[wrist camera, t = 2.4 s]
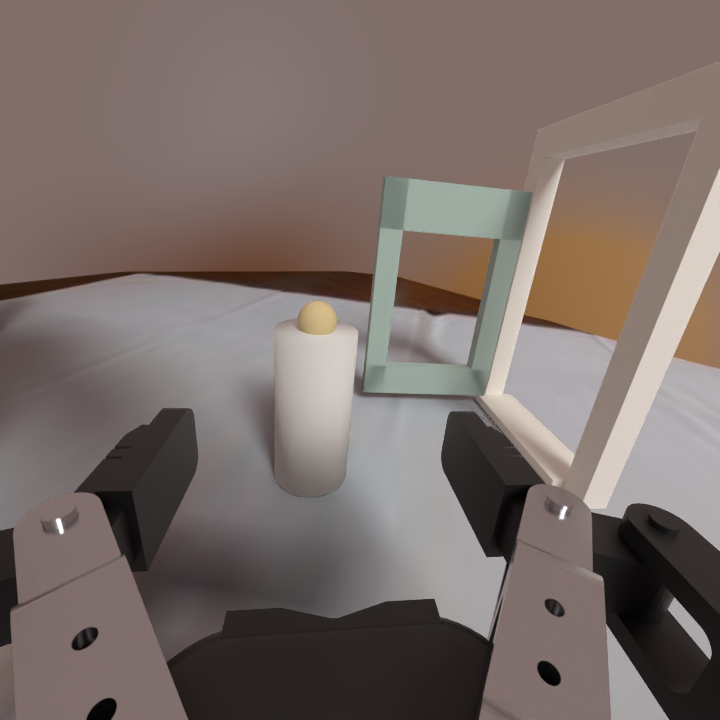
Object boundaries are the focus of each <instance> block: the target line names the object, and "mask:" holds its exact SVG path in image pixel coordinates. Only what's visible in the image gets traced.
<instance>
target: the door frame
mask: <svg viewBox="0 0 720 720" xmlns="http://www.w3.org/2000/svg"><path fill="white" fill-rule="evenodd" d="M694 131H697V132H696V135H695V138H694V140H693V143H692V146H691V148H690V151H689V153H688V156H687V159H686V161H685V164H684V167H683V169H682V172H681V175H680V178H679V180H678V183H677V185H676V188H675V191H674V193H673V196H672V199H671V202H670V204H669V207H668V209H667V212H666V215H665V217H664V220H663V223H662V225H661V228H660V231H659V233H658V236H657V239H656V241H655V244H654V246H653V249H652V252H651V254H650V257H649V260H648V262H647V265H646V268H645V270H644V273H643V276H642V278H641V281H640V284H639V286H638V289H637V292H636V294H635V297H634V300H633V303H632V305H631V308H630V310H629V313H628V316H627V318H626V321H625V324H624V326H623V329H622V332H621V334H620V337H619V340H618V342H617V345H616V347H615V350H614V353H613V355H612V358H611V361H610V363H609V366H608V369H607V371H606V374H605V377H604V379H603V382H602V385H601V387H600V390H599V393H598V395H597V398H596V401H595V403H594V406H593V409H592V411H591V414H590V417H589V419H588V422H587V425H586V427H585V430H584V433H583V435H582V438H581V441H580V443H579V446H578V448H577V451H576V454H575V455H574V454H573V453H572V452H571V451H570V450H569V449H568V448H567V447H566V446H565V445H564V444H563V443H562V442H560V441H559V440H558V439H557V438H556V437H555V436H554V435H553V434H552V433H551V432H550V431H549V430H548V429H547V428H546V427H545V426H544V425H543V424H541V423H540V422H539V421H538V420H537V419H536V418H535V417H534V416H533V415H532V414H531V413H530V412H529V411H528V410H527V409H526V408H525V407H524V406H522V405H521V404H520V403H519V402H518V401H517V400H516V399H515V398H514V397H513V396H512V395H511V394H503V390H504V386H505V383H506V379H507V375H508V371H509V367H510V364H511V360H512V356H513V352H514V349H515V345H516V341H517V337H518V333H519V330H520V326H521V322H522V318H523V315H524V311H525V307H526V303H527V299H528V296H529V292H530V288H531V284H532V281H533V277H534V273H535V269H536V266H537V262H538V258H539V254H540V250H541V246H542V243H543V239H544V235H545V232H546V228H547V224H548V220H549V216H550V213H551V209H552V205H553V201H554V198H555V194H556V190H557V186H558V182H559V179H560V175H561V171H562V167H563V164H564V160H565V159H568V158H572V157H577V156H582V155H586V154H591V153H595V152H600V151H605V150H610V149H614V148H619V147H623V146H628V145H633V144H637V143H642V142H647V141H651V140H656V139H660V138H665V137H670V136H675V135H680V134H684V133H689V132H694ZM524 192H533V195H532V199H531V203H530V207H529V211H528V216H527V220H526V224H525V228H524V232H523V236H522V240H521V244H520V248H519V252H518V257H517V261H516V265H515V269H514V273H513V277H512V281H511V285H510V289H509V294H508V298H507V302H506V306H505V310H504V314H503V318H502V322H501V326H500V331H499V335H498V339H497V343H496V347H495V351H494V355H493V359H492V363H491V367H490V372H489V376H488V380H487V384H486V388H485V392H484V396H476V401H477V402H478V403H479V405H480V406H481V407H482V408H483V409H484V411H485V412H486V413H487V414H488V415H489V417H490V418H491V419H492V420H493V421H494V422H495V424H496V425H497V426H498V427H499V428H500V430H501V431H502V432H503V433H504V434H505V436H506V437H507V438H508V439H509V440H510V442H511V443H512V444H513V445H514V446H515V448H516V449H517V450H518V451H519V452H520V453H521V455H522V456H523V457H524V458H525V459H526V461H527V462H528V463H529V464H530V465H531V467H532V468H533V469H534V470H535V471H536V473H537V474H538V475H539V476H540V477H541V479H542V480H543V481H544V482H545V483H546V484H549V485H554V486H557V487H560V488H563V489H565V490H567V491H569V492H571V493H573V494H574V495H576V496H577V497H579V498H580V499H581V500H582V501H583V502H584V503H585V504H586V505H587V506H588V508H589V509H605V508H606V506H607V504H608V501H609V499H610V497H611V495H612V492H613V490H614V488H615V486H616V483H617V481H618V479H619V477H620V474H621V472H622V470H623V468H624V465H625V463H626V461H627V459H628V456H629V454H630V452H631V450H632V447H633V445H634V443H635V441H636V438H637V436H638V434H639V432H640V429H641V427H642V425H643V423H644V420H645V418H646V416H647V414H648V411H649V409H650V407H651V405H652V402H653V400H654V398H655V396H656V393H657V391H658V389H659V387H660V384H661V382H662V380H663V378H664V375H665V373H666V371H667V369H668V366H669V364H670V362H671V360H672V357H673V355H674V353H675V350H676V348H677V346H678V343H679V341H680V339H681V337H682V335H683V333H684V330H685V328H686V326H687V324H688V321H689V319H690V316H691V315H692V312H693V310H694V307H695V305H696V303H697V301H698V299H699V296H700V294H701V292H702V290H703V287H704V285H705V283H706V281H707V278H708V276H709V274H710V272H711V269H712V267H713V265H714V263H715V260H716V258H717V256H718V254H719V251H720V61H719V62H716V63H713V64H711V65H708V66H705V67H703V68H700V69H697V70H695V71H692V72H690V73H687V74H684V75H682V76H679V77H676V78H674V79H671V80H668V81H665V82H663V83H660V84H658V85H655V86H652V87H650V88H647V89H644V90H641V91H639V92H636V93H634V94H631V95H628V96H625V97H623V98H620V99H617V100H615V101H612V102H609V103H607V104H604V105H602V106H599V107H596V108H594V109H591V110H588V111H586V112H583V113H580V114H578V115H575V116H572V117H570V118H567V119H564V120H562V121H559V122H557V123H554V124H551V125H549V126H546V127H543V128H540V129H538V132H537V137H536V141H535V145H534V149H533V154H532V158H531V162H530V166H529V171H528V176H527V179H526V184H525V188H524Z"/></svg>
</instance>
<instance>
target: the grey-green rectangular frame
mask: <svg viewBox="0 0 720 720" xmlns="http://www.w3.org/2000/svg"><path fill="white" fill-rule="evenodd" d="M532 195H533V192H524V191H515V190H506V189H497V188H488V187H479V186H470V185H460V184H452V183H443V182H433V181H425V180H416V179H407V178H398V177H389V176H385V177H383V185H382V194H381V205H380V215H379V224H378V234H377V243H376V253H375V263H374V273H373V283H372V293H371V303H370V313H369V323H368V333H367V343H366V353H365V363H364V373H363V383H362V389H363V392H372V393H406V394H440V395H474V396H484V392H485V388H486V384H487V380H488V376H489V372H490V367H491V363H492V359H493V355H494V351H495V347H496V343H497V339H498V335H499V331H500V326H501V322H502V318H503V314H504V310H505V306H506V302H507V298H508V294H509V289H510V285H511V281H512V277H513V273H514V269H515V265H516V261H517V257H518V252H519V248H520V244H521V240H522V236H523V232H524V228H525V224H526V220H527V216H528V211H529V207H530V203H531V199H532ZM403 230H407V231H417V232H428V233H439V234H450V235H462V236H472V237H484V238H494V243H493V248H492V252H491V257H490V262H489V266H488V271H487V276H486V280H485V285H484V289H483V294H482V298H481V303H480V308H479V312H478V317H477V322H476V326H475V331H474V335H473V340H472V345H471V349H470V354H469V359H468V363H467V365H459V364H434V363H410V362H387V354H388V346H389V338H390V330H391V322H392V314H393V306H394V298H395V290H396V282H397V274H398V266H399V257H400V250H401V242H402V234H403Z"/></svg>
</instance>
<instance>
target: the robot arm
mask: <svg viewBox="0 0 720 720" xmlns="http://www.w3.org/2000/svg"><path fill="white" fill-rule="evenodd" d="M441 461H442V467H443V470H444V473H445V475H446V477H447V479H448V481H449V483H450V485H451V487H452V489H453V491H454V493H455V495H456V497H457V499H458V501H459V503H460V505H461V507H462V509H463V511H464V513H465V515H466V517H467V519H468V521H469V523H470V525H471V527H472V529H473V531H474V533H475V535H476V537H477V539H478V541H479V543H480V545H481V547H482V549H483V551H484V553H485V555H486V557H501V556H503V557H504V558H505V560H506V562H507V563H506V567H505V570H504V574H503V578H502V582H501V586H500V590H499V594H498V598H497V602H496V606H495V610H494V614H493V618H492V622H491V626H490V630H489V634H488V638H487V639H486V638H485V637H483V636H482V635H480V634H479V633H477V632H475V631H474V630H472V629H470V628H468V627H466V626H464V625H462V624H460V623H458V622H455V621H452V620H449V619H446V618H441V617H440V616H439V613H438V609H437V606H436V603H435V600H434V599H422V600H405V601H388V602H384V603H381V604H378V605H375V606H372V607H369V608H366V609H363V610H360V611H357V612H355V613H352V614H349V615H346V616H343V617H340V618H326V617H322V616H317V615H312V614H307V613H303V612H298V611H293V610H288V609H283V608H271V609H254V610H237V611H227V613H226V617H225V621H224V625H223V630H222V631H221V632H218V633H215V634H212V635H210V636H208V637H206V638H204V639H202V640H199V641H198V642H196V643H194V644H193V645H191V646H189V647H187V648H186V649H184V650H183V651H181V652H180V653H179V654H177V655H176V656H174V657H173V658H172V659H170V660H169V661H168V662H167V663H166V661H165V658H164V656H163V653H162V650H161V648H160V645H159V643H158V640H157V637H156V635H155V632H154V629H153V627H152V624H151V622H150V619H149V616H148V614H147V611H146V609H145V606H144V603H143V601H142V598H141V596H140V593H139V590H138V588H137V585H136V582H135V580H134V577H133V575H132V572H137V571H148V569H149V567H150V565H151V563H152V561H153V559H154V557H155V554H156V552H157V550H158V548H159V546H160V544H161V542H162V540H163V538H164V536H165V534H166V532H167V530H168V528H169V526H170V523H171V521H172V519H173V517H174V515H175V513H176V511H177V509H178V507H179V505H180V503H181V501H182V499H183V497H184V495H185V493H186V490H187V488H188V486H189V484H190V482H191V480H192V478H193V476H194V474H195V471H196V467H197V462H198V449H197V440H196V431H195V421H194V414H193V411H192V409H190V408H163V409H162V410H161V411H160V412H159V413H158V415H157V416H156V417H155V418H154V419H153V421H152V422H151V423H150V424H149V425H141V426H139V427H138V428H136V429H134V430H133V431H131V432H129V433H128V434H126V435H125V436H124V437H123V438H122V439H121V440H120V441H119V443H118V444H117V445H116V446H115V449H112V450H111V452H110V453H109V454H108V455H107V456H106V459H103V460H102V462H101V463H100V464H99V465H98V466H97V467H96V468H95V469H94V471H93V472H92V473H91V474H90V475H89V476H88V477H87V478H86V480H85V481H84V482H83V483H82V484H81V485H80V486H79V487H78V489H77V490H76V491H75V492H74V493H70V494H66V495H62V496H59V497H55V498H53V499H50V500H48V501H46V502H44V503H42V504H40V505H38V506H36V507H35V508H33V509H32V510H30V511H29V512H28V513H26V514H25V515H24V516H23V517H22V518H21V519H20V520H19V521H18V523H17V524H16V526H15V527H14V528H11V529H6V530H2V531H0V647H1V646H4V645H7V644H10V643H12V657H13V676H14V694H15V712H16V720H611V711H610V691H609V672H608V652H607V633H606V624H607V626H608V627H609V629H610V630H611V632H612V633H613V635H614V636H615V638H616V639H617V641H618V642H619V644H620V645H621V647H622V648H623V650H624V651H625V653H626V654H627V656H628V657H629V659H630V661H631V662H632V664H633V665H634V667H635V668H636V670H637V671H638V673H639V674H640V676H641V677H642V679H643V680H644V682H645V683H646V685H647V686H648V688H649V689H650V691H651V692H652V694H653V696H654V697H655V699H656V700H657V702H658V703H659V705H660V706H661V708H662V709H663V711H664V712H665V714H666V715H667V717H668V718H669V720H720V551H719V550H717V549H716V548H715V547H714V546H713V545H712V544H711V543H709V542H708V541H707V540H706V539H705V538H704V537H703V536H701V535H700V534H699V533H698V532H697V531H696V530H695V529H693V528H692V527H691V526H690V525H689V524H687V523H686V522H685V521H683V520H682V519H680V518H679V517H677V516H675V515H674V514H672V513H670V512H668V511H666V510H663V509H661V508H658V507H655V506H652V505H647V504H640V503H638V504H631V505H629V506H628V507H627V509H626V511H625V513H624V516H623V518H622V519H620V518H616V517H611V516H606V515H602V514H597V513H592V512H591V511H590V509H589V508H588V506H587V505H586V504H585V503H584V502H583V501H582V500H581V499H580V498H579V497H577V496H576V495H574V494H573V493H571V492H569V491H567V490H565V489H563V488H560V487H557V486H554V485H549V484H545V482H544V481H543V480H542V479H541V478H540V477H539V475H538V474H537V473H536V472H535V471H534V470H533V468H532V467H531V466H530V465H529V464H528V463H527V461H526V460H525V459H524V458H523V457H521V454H520V453H519V452H518V451H517V450H516V449H515V448H513V445H512V444H511V443H510V442H509V441H508V439H507V438H506V437H505V436H504V435H503V434H501V433H499V432H498V431H496V430H495V429H493V428H492V427H487V426H486V425H485V424H484V422H483V421H482V420H481V419H480V417H479V416H478V415H477V414H476V413H475V412H455V411H452V412H450V413H449V415H448V419H447V424H446V430H445V435H444V441H443V446H442V452H441ZM674 597H675V598H676V599H677V600H678V601H679V603H680V604H681V605H682V606H683V607H684V608H685V609H686V610H687V612H688V613H689V614H690V615H691V616H692V617H693V618H694V620H695V621H696V622H697V623H698V624H699V625H700V626H701V628H702V629H703V630H704V632H705V633H706V635H707V637H708V639H709V642H710V645H711V650H712V656H711V659H710V660H709V658H708V657H707V656H706V655H705V654H704V652H703V651H702V650H701V649H700V648H699V647H698V645H697V644H696V643H695V642H694V641H693V639H692V638H691V637H690V636H689V635H688V633H687V632H686V631H685V630H684V629H683V627H682V626H681V625H680V624H679V623H678V621H677V620H676V619H675V618H674V617H673V616H672V614H671V613H670V612H669V611H668V610H667V609H668V607H669V606H670V604H671V602H672V600H673V598H674Z"/></svg>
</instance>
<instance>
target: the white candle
mask: <svg viewBox="0 0 720 720" xmlns="http://www.w3.org/2000/svg"><path fill="white" fill-rule="evenodd" d="M357 343H358V331H357V329H356V328H354V327H353V326H351V325H348V324H346V323H342V322H339V321H337V317H336V314H335V311H334V310H333V308H332V307H331V306H330V305H328V304H327V303H325V302H322V301H313V302H310V303H308V304H306V305H305V306H304V307H303V308H302V309H301V311H300V313H299V316H298V319H292V320H287V321H284V322H281V323H279V324H277V325H276V326H275V439H274V475H275V480H276V482H277V484H278V485H279V486H280V487H281V488H282V489H283V490H285V491H286V492H288V493H290V494H293V495H296V496H300V497H318V496H323V495H326V494H329V493H331V492H333V491H334V490H336V489H337V488H338V487H340V485H341V484H342V483H343V481H344V479H345V475H346V464H347V453H348V442H349V431H350V420H351V409H352V398H353V387H354V376H355V365H356V354H357Z"/></svg>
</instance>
